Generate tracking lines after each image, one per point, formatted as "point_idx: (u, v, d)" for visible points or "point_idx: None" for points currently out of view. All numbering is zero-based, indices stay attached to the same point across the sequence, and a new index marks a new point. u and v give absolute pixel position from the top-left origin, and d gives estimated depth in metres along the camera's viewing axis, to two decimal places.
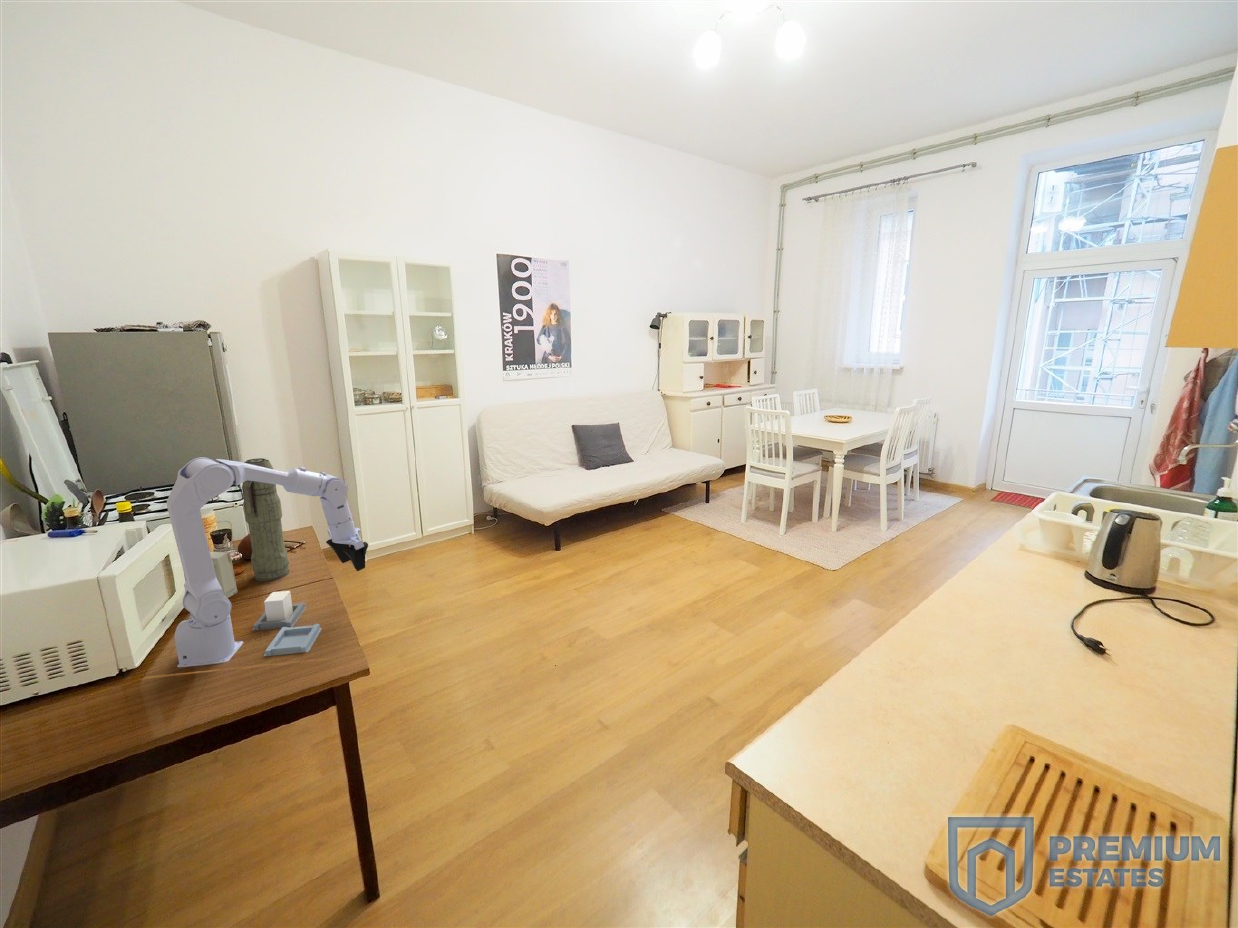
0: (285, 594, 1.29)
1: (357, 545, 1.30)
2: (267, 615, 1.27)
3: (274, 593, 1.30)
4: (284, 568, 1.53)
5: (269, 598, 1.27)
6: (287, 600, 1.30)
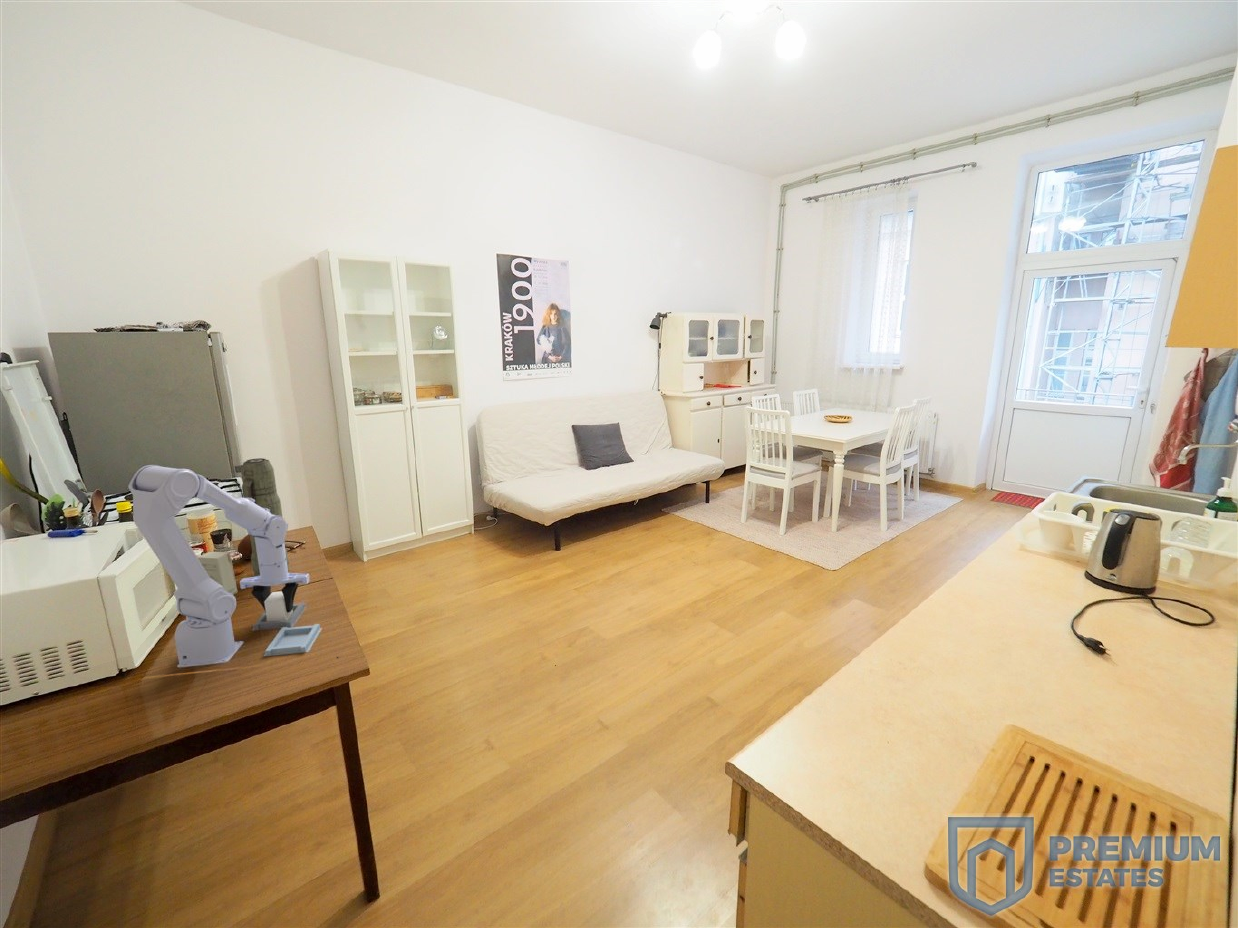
0: None
1: (307, 579, 1.29)
2: (267, 615, 1.27)
3: (274, 593, 1.30)
4: None
5: (269, 598, 1.27)
6: None
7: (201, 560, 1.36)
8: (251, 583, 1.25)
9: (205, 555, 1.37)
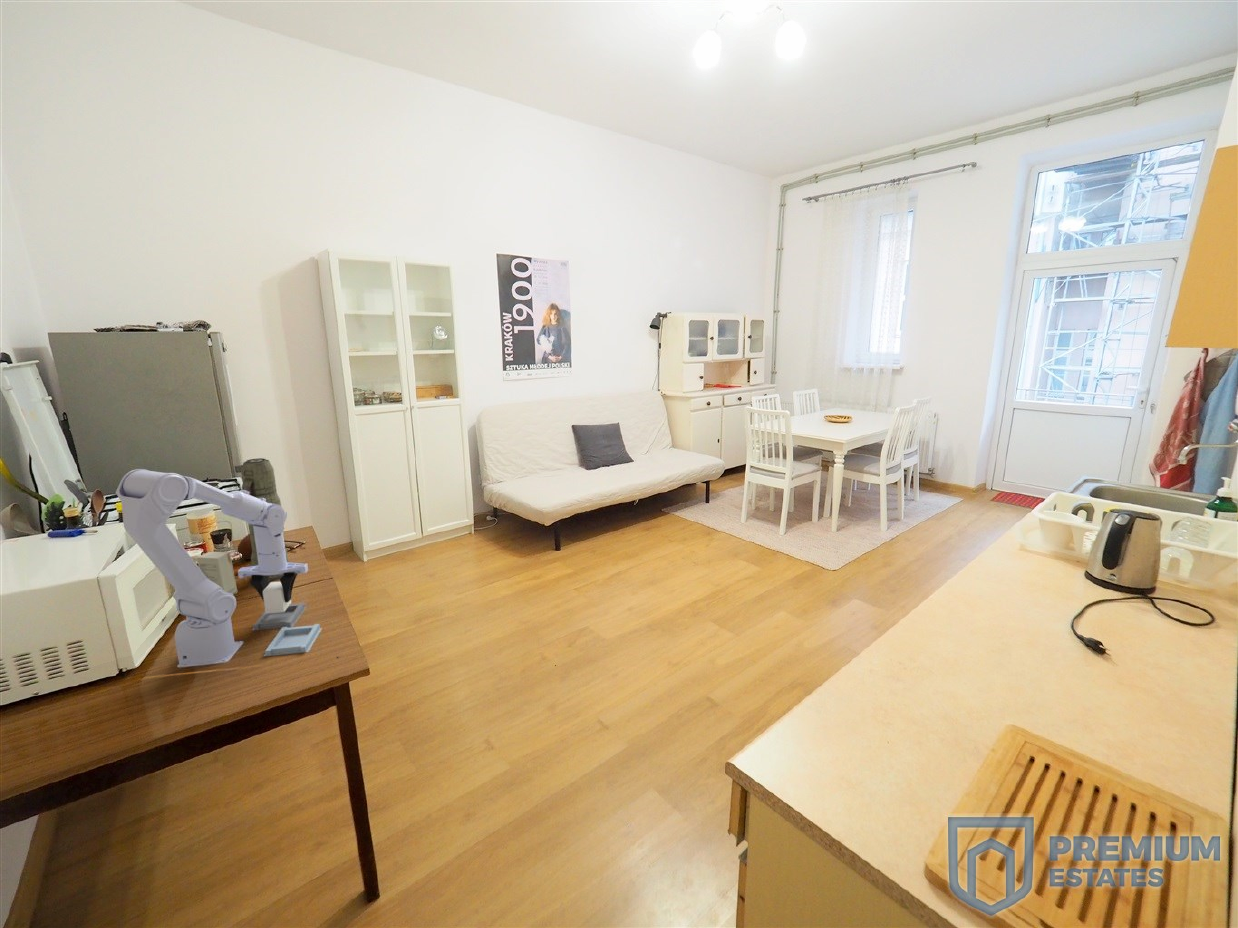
0: None
1: (305, 569, 1.28)
2: (265, 605, 1.26)
3: (273, 583, 1.29)
4: None
5: (267, 588, 1.27)
6: None
7: (201, 560, 1.36)
8: (249, 572, 1.24)
9: (205, 555, 1.37)
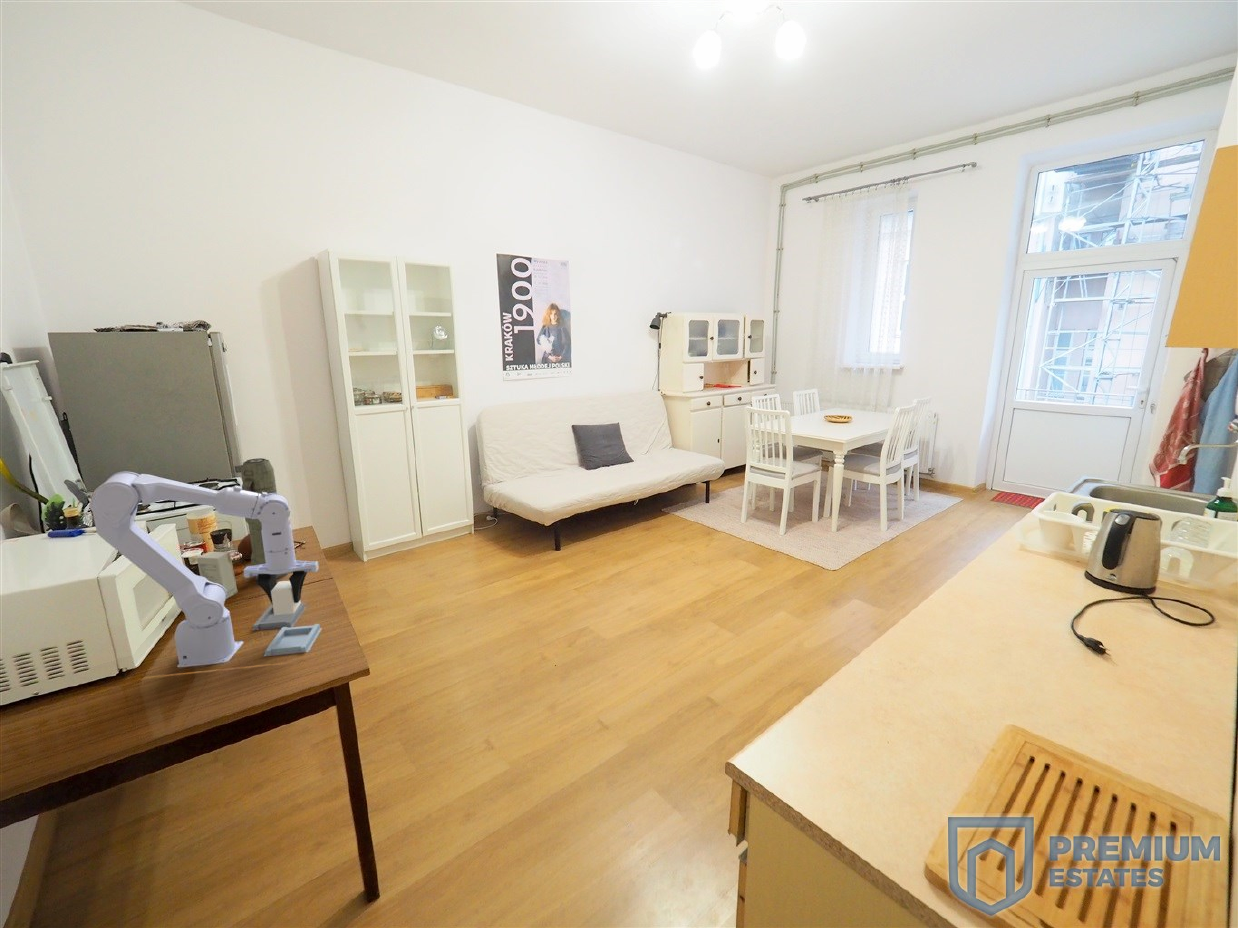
0: None
1: (316, 567, 1.20)
2: (274, 606, 1.18)
3: (281, 583, 1.21)
4: None
5: (276, 587, 1.18)
6: None
7: (201, 560, 1.36)
8: (256, 571, 1.16)
9: (205, 555, 1.37)
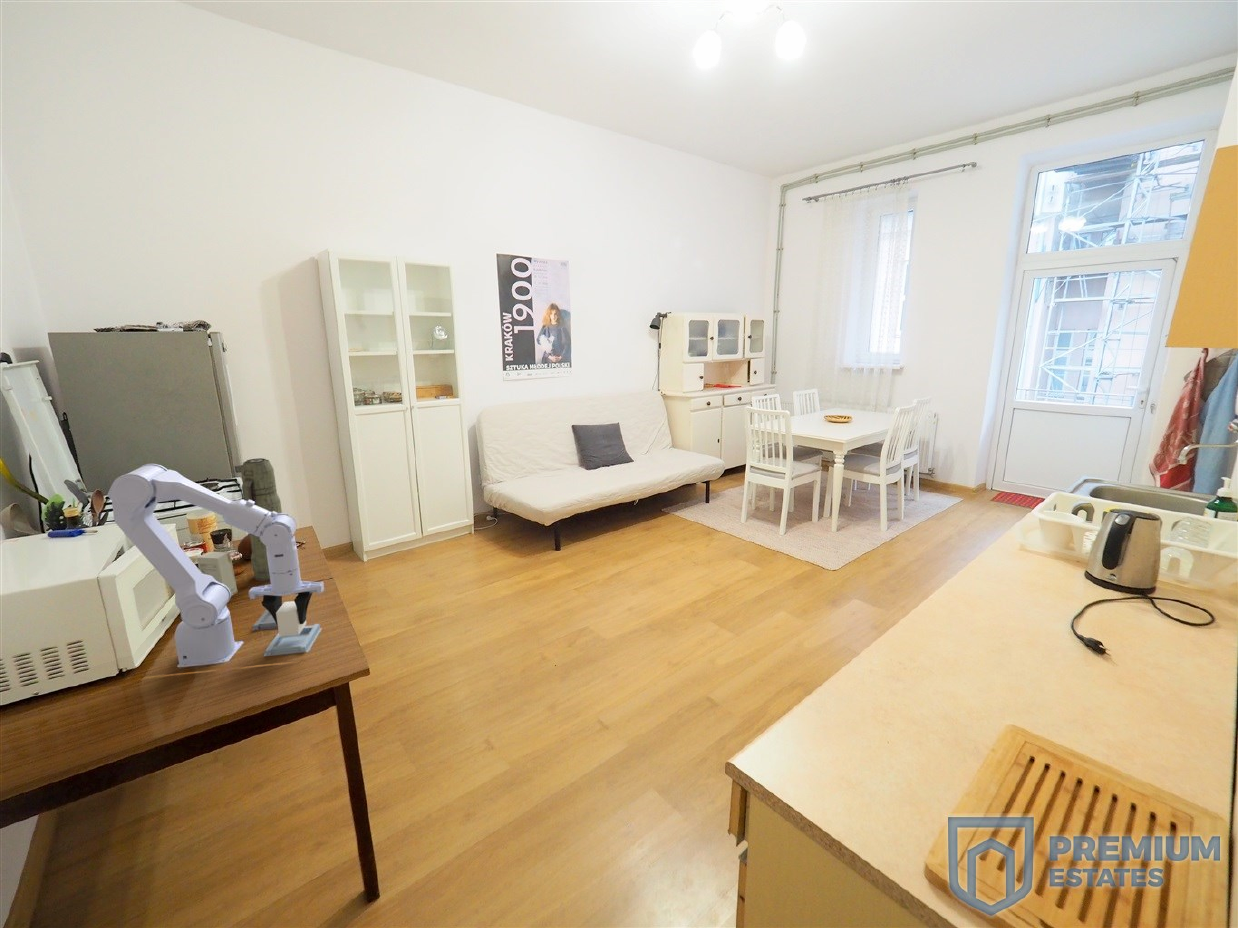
0: None
1: (321, 588, 1.18)
2: (279, 627, 1.17)
3: (287, 603, 1.20)
4: None
5: (281, 609, 1.17)
6: None
7: (201, 560, 1.36)
8: (261, 593, 1.15)
9: (205, 555, 1.37)
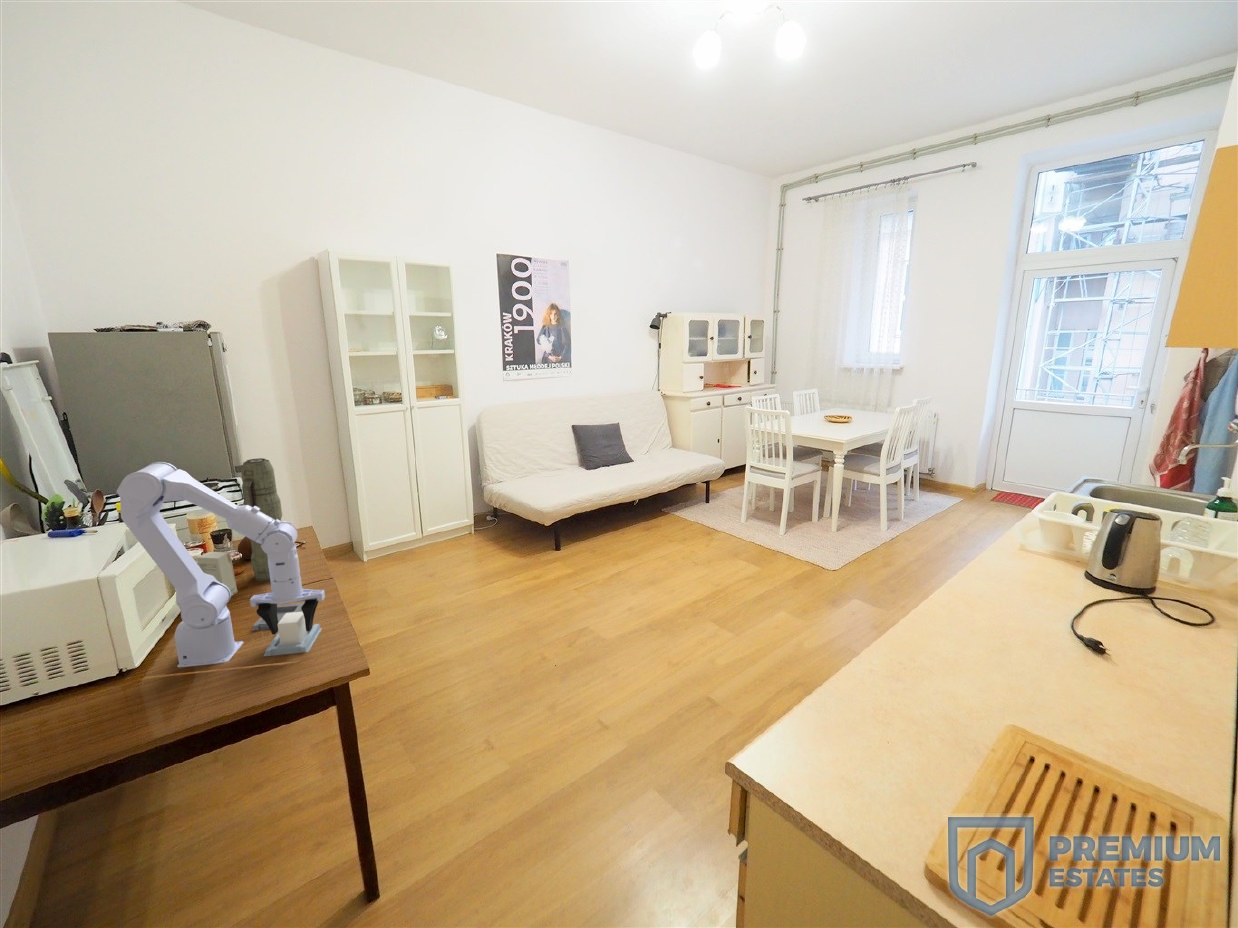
0: (299, 615, 1.20)
1: (322, 596, 1.19)
2: (280, 638, 1.17)
3: (288, 614, 1.20)
4: None
5: (283, 620, 1.18)
6: (302, 622, 1.20)
7: (201, 560, 1.36)
8: (262, 601, 1.15)
9: (205, 555, 1.37)
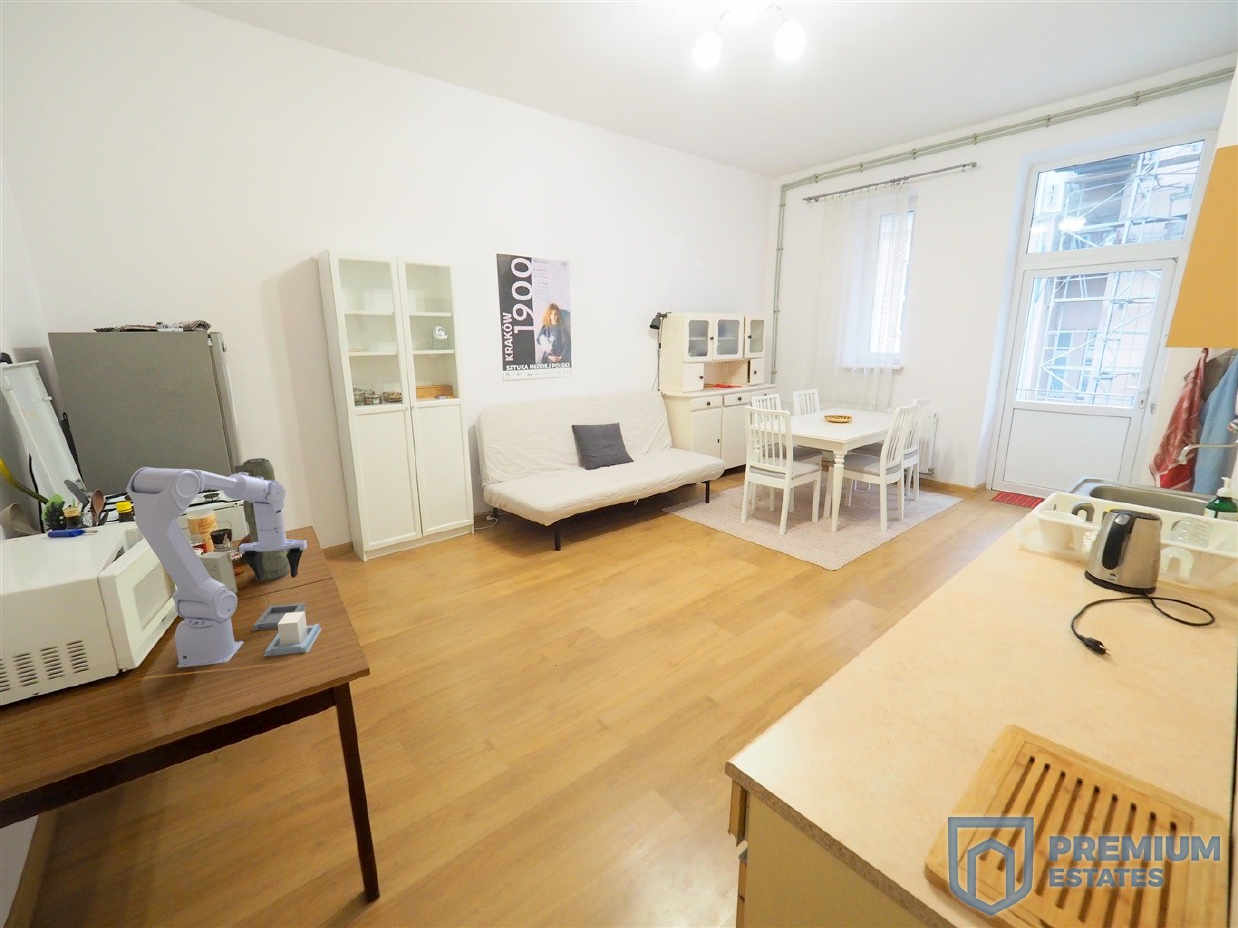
0: (299, 615, 1.20)
1: (304, 545, 1.31)
2: (280, 638, 1.17)
3: (288, 614, 1.20)
4: (284, 568, 1.53)
5: (283, 620, 1.18)
6: (302, 622, 1.20)
7: (201, 560, 1.36)
8: (250, 548, 1.27)
9: (205, 555, 1.37)
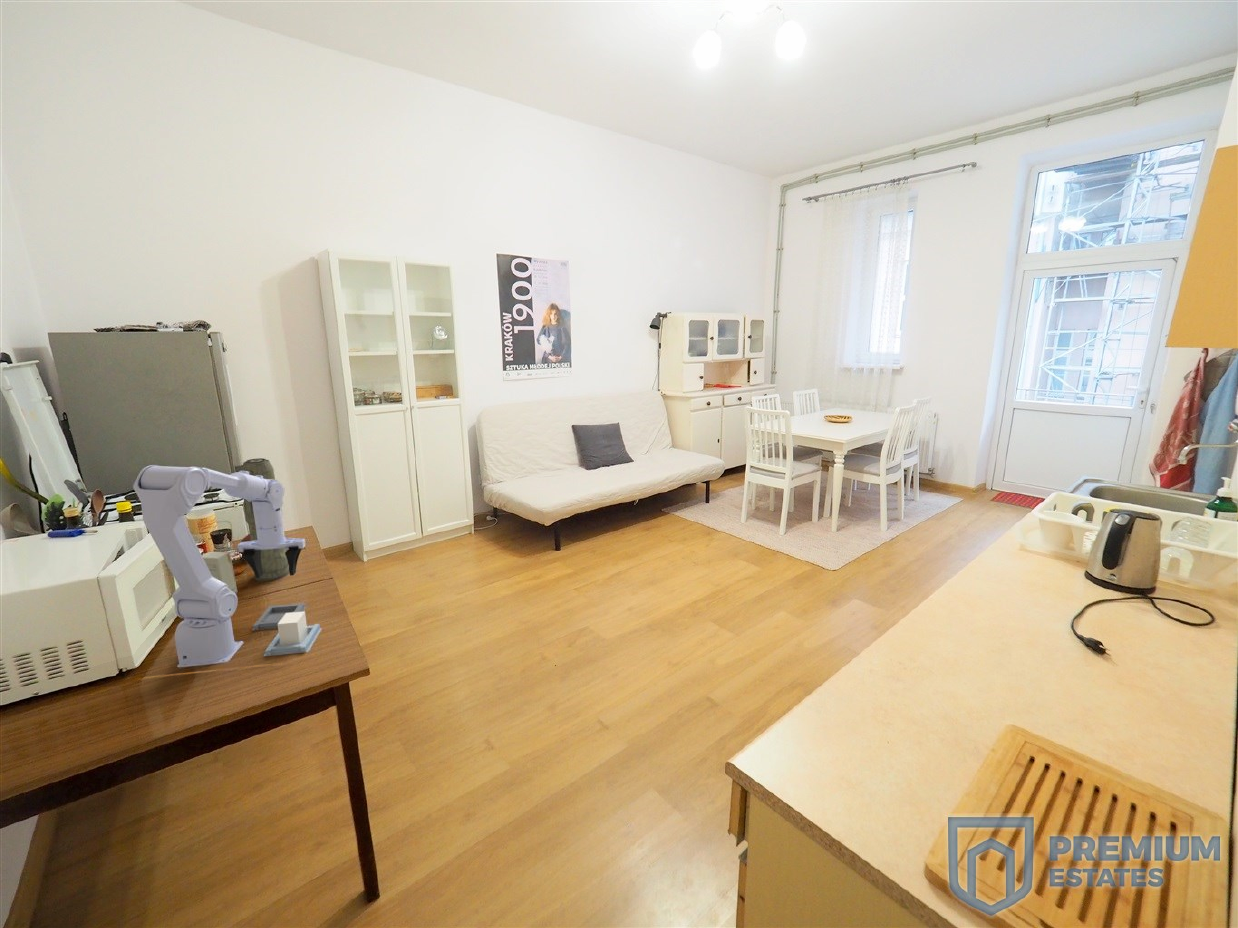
0: (299, 615, 1.20)
1: (303, 543, 1.32)
2: (280, 638, 1.17)
3: (288, 614, 1.20)
4: (284, 568, 1.53)
5: (283, 620, 1.18)
6: (302, 622, 1.20)
7: None
8: (249, 546, 1.28)
9: (205, 555, 1.37)
